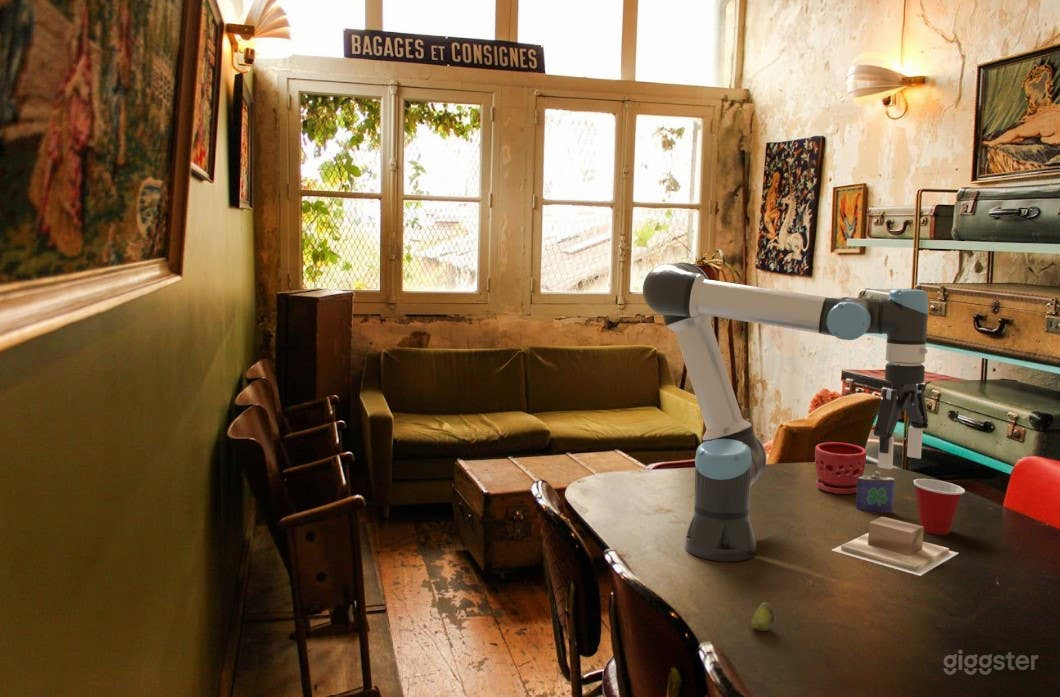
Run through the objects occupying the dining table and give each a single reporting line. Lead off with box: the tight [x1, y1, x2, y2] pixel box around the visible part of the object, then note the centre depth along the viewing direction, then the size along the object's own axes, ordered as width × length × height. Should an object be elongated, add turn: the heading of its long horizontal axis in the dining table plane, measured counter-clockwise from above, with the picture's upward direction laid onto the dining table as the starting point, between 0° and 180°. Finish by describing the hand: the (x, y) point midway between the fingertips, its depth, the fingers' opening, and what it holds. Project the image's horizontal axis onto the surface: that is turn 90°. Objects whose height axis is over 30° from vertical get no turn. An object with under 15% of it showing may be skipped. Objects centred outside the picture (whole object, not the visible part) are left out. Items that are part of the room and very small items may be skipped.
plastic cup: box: [912, 478, 966, 536], centre depth 192 cm, size 11×11×12 cm
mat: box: [831, 532, 959, 576], centre depth 179 cm, size 19×19×1 cm
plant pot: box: [814, 441, 867, 495], centre depth 228 cm, size 13×13×12 cm
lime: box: [749, 601, 777, 632], centre depth 144 cm, size 4×5×5 cm
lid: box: [840, 516, 950, 572], centre depth 179 cm, size 16×16×6 cm
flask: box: [855, 470, 896, 515], centre depth 208 cm, size 9×3×11 cm, turn 87°
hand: (899, 462), depth 177 cm, fingers open, 13 cm apart
